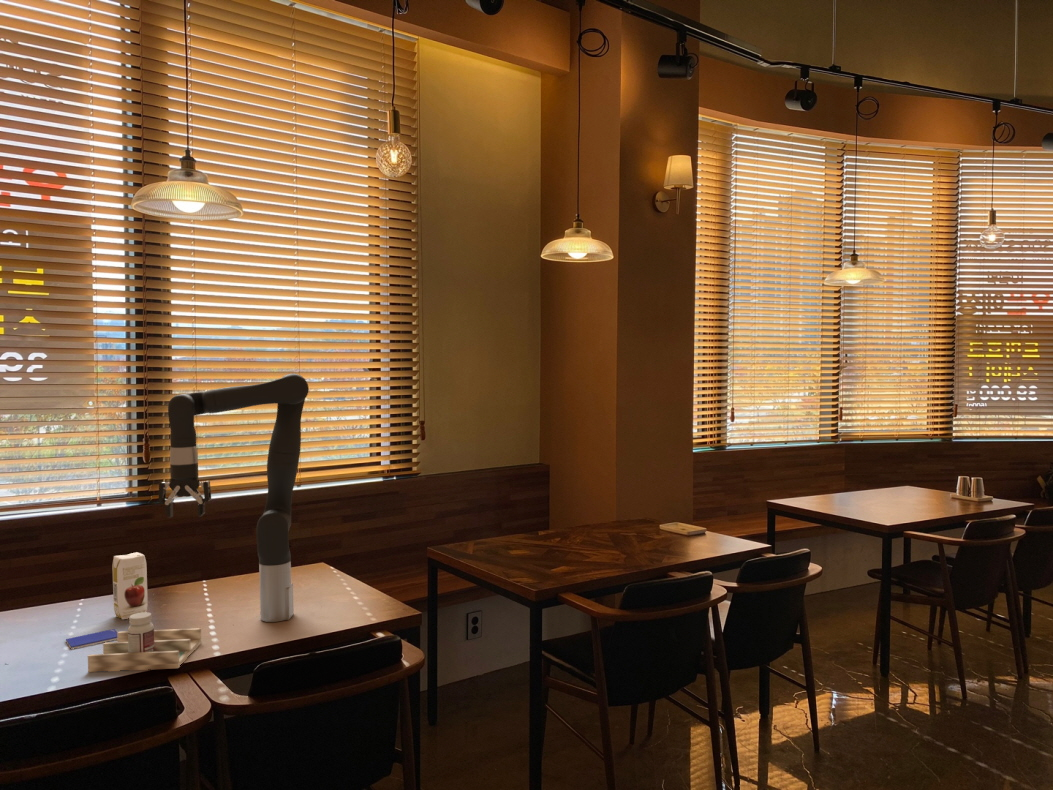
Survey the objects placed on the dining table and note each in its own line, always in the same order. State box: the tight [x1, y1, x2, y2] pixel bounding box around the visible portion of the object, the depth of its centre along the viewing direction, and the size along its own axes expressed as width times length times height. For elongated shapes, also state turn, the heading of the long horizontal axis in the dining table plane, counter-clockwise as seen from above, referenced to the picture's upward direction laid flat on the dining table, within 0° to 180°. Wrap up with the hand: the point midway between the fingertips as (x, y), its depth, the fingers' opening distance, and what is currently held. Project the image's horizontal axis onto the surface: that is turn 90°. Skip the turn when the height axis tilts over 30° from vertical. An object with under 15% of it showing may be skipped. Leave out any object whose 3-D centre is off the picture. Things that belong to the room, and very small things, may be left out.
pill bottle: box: [127, 612, 155, 653], centre depth 201 cm, size 6×6×11 cm
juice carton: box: [112, 551, 149, 620], centre depth 240 cm, size 8×9×19 cm
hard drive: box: [65, 628, 119, 650], centre depth 219 cm, size 2×8×12 cm
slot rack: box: [87, 627, 202, 673], centre depth 206 cm, size 22×18×4 cm
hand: (185, 516), depth 228 cm, fingers open, 8 cm apart
